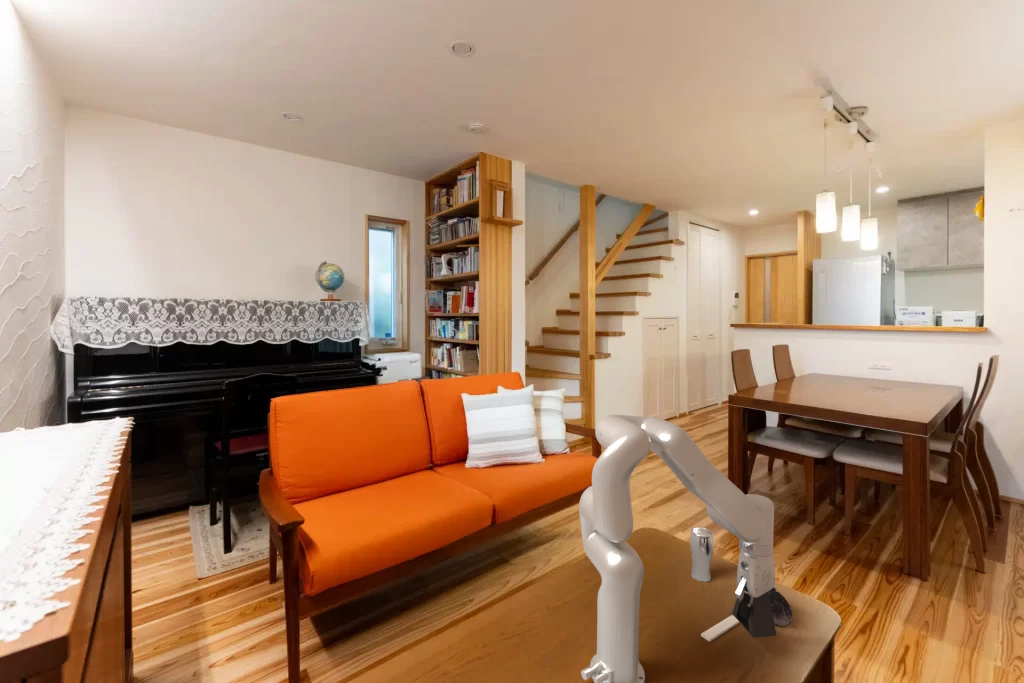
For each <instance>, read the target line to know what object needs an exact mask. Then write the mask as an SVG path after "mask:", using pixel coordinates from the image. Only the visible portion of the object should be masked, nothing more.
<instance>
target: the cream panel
mask: <svg viewBox="0 0 1024 683" xmlns="http://www.w3.org/2000/svg"><path fill="white" fill-rule="evenodd" d="M739 624H741V623H740V622H739V621H738V620H737V619H736V618H735V617H734V615H733V614H731V615H730V616H728V617H726V618H725V619H723V620H721V621H720V622H717V623H716V624H714V625H713V626H711V627H710V628H708V629H707V630H705V631H703V632H701V633H700V636H701V637H702V638H704V639H705V640H706V641H708V642H712V641H714V640H715V639H716V638H718V637H719V636H721V635H722V634H724V633H726V632H727V631H729V630H731V629H732V628H734V627H735V626H737V625H739Z"/></svg>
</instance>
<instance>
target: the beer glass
mask: <svg viewBox="0 0 1024 683" xmlns="http://www.w3.org/2000/svg"><path fill="white" fill-rule="evenodd" d="M690 531H691V532H690V538H689V540H690V541H689V543H690V544H689V547H690V555H691V561H692V563H691V564H692V566H691V572H690V575H691V577H692V579H694V580H696V581H697V582H701V581H703V583H707V581H708V582H711V580H712V574H711V563H712V559H713V554H714V532H713V531H712V530H711V529H708V528H706V527H702V526H694V527H692V528H691V529H690Z"/></svg>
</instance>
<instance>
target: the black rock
mask: <svg viewBox="0 0 1024 683" xmlns="http://www.w3.org/2000/svg"><path fill="white" fill-rule="evenodd" d="M769 592H770V594H769V596H770V601H771V607H772V612H773V618H774V623H775V625H777V626H781V627H783V626H784V627H786V626H788V625H789V624H790V622H792V621H793V610H792V608H791V605H790V603H789V602H788V600H787V599H786V597H785V596H784V595H783V594H781V593H780V591H777V589H776V588H775V586H774V587H773V588H772V589H771V590H769Z"/></svg>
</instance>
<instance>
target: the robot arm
mask: <svg viewBox="0 0 1024 683" xmlns="http://www.w3.org/2000/svg"><path fill="white" fill-rule="evenodd" d="M595 438H596V440H597V442H598V443H599V445H600V446H601V447H603V449H604V450H603V451H602V453H601V454H600V455H599V457H598V458H597V460H596V461H595V463H594V466H593V467H592V473H591V486H588V487H587V488H586V489H585V490H583V493H582V494H581V496H580V498H579V505H578V514H579V515H578V516H579V521H580V522H579V523H580V530H581V531H580V532H581V538H582V546H583V551H584V553H585V554H586V556H587V558H588V560H590V562H591V564H592V565H593V566H594V567H595V568H596V571H597V573H599V575H600V578H601V582H600V583H601V585H600V586H599V589H598V592H597V603H596V604H597V606H596V609H597V610H596V612H597V615H596V616H597V617H596V618H597V620H596V621H597V622H596V628H597V629H596V654H594V655H593V656H592V658H591V660H590V663H589V666H588V667H586V668H584V669H582V670H581V671H580V674H581V678H582V679H583V680H584V681H587V680H589V679H590V678H591V679H592V680H593V683H645V681H646V674H645V670H644V668H643V665H642V664H641V663H640V661H639V644H640V643H639V642H640V641H639V639H640V638H639V637H640V636H639V634H640V633H639V632H640V628H639V627H640V597H641V596H640V595H641V590H642V584H643V580H644V576H645V569H644V568H645V567H644V565H643V564H644V563H643V561H642V559H641V557H640V556H639V554H638V553H637V551H636V550H635V549H634V548H633V547H632V546H631V545H630V544H629V543H628V542H627V540H629V538H630V537H631V535H632V533H633V530H634V514H633V505H632V497H631V477H632V474H633V472H634V470H635V469H636V468H637V467H638V466H639V464H640V463H641V462H643V461H644V459H645V458H646V457H647V456H648V454H649V452H652V453H653V454H656V455H657V456H658V457H659V458H660V459H661V460H662V461H663V463H664V464H666V466H667V467H668V468H669V469H670V471H671V472H672V473H673V475H674V476H676V477H677V479H678V481H679V482H681V483H682V485H683V486H684V487H685V488H686V489H687V490H688V491H689V492H691V494H693V495H694V496H695V497H697V498H698V499H699V500H700V501H702V502H704V503H705V504H706V508H705V509H706V514H707V515H708V517H709V519H710V520H712V521H713V523H715V524H717V525H718V526H719V527H721V528H722V529H724V530H726V531H728V532H729V533H730V534H732V535H733V536H735V537H736V538H737V539H738V549H739V555H738V561H737V568H736V571H737V572H736V587H737V588H736V590H735V593H734V596H735V597H736V599H737V598H738V599H739V601H740V616H741V617H743V618H745V619H747V620H748V617H749V608H750V611H751V615H752V617H753V614H754V606H752V603H753V598H757V597H759V596H761V595H763V594H764V593H766V592H768V591H769V590H771V589H772V588H773V587H774V588H775V585H776V565H775V564H776V563H775V557H774V556H775V555H774V551H773V550H774V528H775V527H774V524H775V506H774V505H775V504H774V503H773V500H771V499H770V498H769V497H766V496H764V495H760V494H756V493H747V494H745V493H744V492H743V491H742V490H741V489H740V488H738V487H737V486H736V484H734V482H732V481H731V480H730V479H729V478H728V477H727V476H726V475H724V473H722V471H720V470H719V469H718V468H717V467H716V466H715V465H714V464H713V463H712V462H711V461H710V460H709V458H708V457H707V456H706V454H705V453H704V452H703V451H702V449H701V448H700V446H698V445H697V443H696V442H695V441H694V440H693V438H692V437H691V436H690V435H689V434H688V432H687V431H686V430H685V429H683V427H681V426H680V425H677V424H675V423H673V422H671V421H668V420H665V419H663V418H660V417H655V416H643V415H641V416H640V415H628V414H627V415H624V414H610V415H606V416H604V417H602V418H601V419H600V420H598V422H597V423H596V427H595ZM746 588H747V589H748V591H746V590H745V589H746ZM745 593H746V594H748V595H750V596H749V599H747V598H746V597H744V595H745ZM769 594H770V592H769Z"/></svg>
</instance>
